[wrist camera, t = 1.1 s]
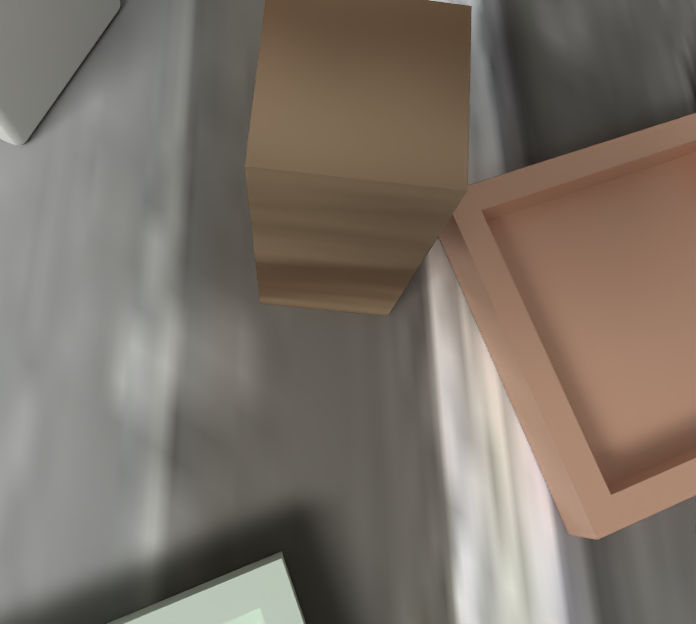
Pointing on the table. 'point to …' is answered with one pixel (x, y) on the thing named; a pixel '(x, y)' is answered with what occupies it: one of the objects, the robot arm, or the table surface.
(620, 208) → the terracotta dish
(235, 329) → the table surface
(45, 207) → the table surface
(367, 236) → the walnut block
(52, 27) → the medicine bottle
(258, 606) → the pale green dish
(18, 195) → the table surface
